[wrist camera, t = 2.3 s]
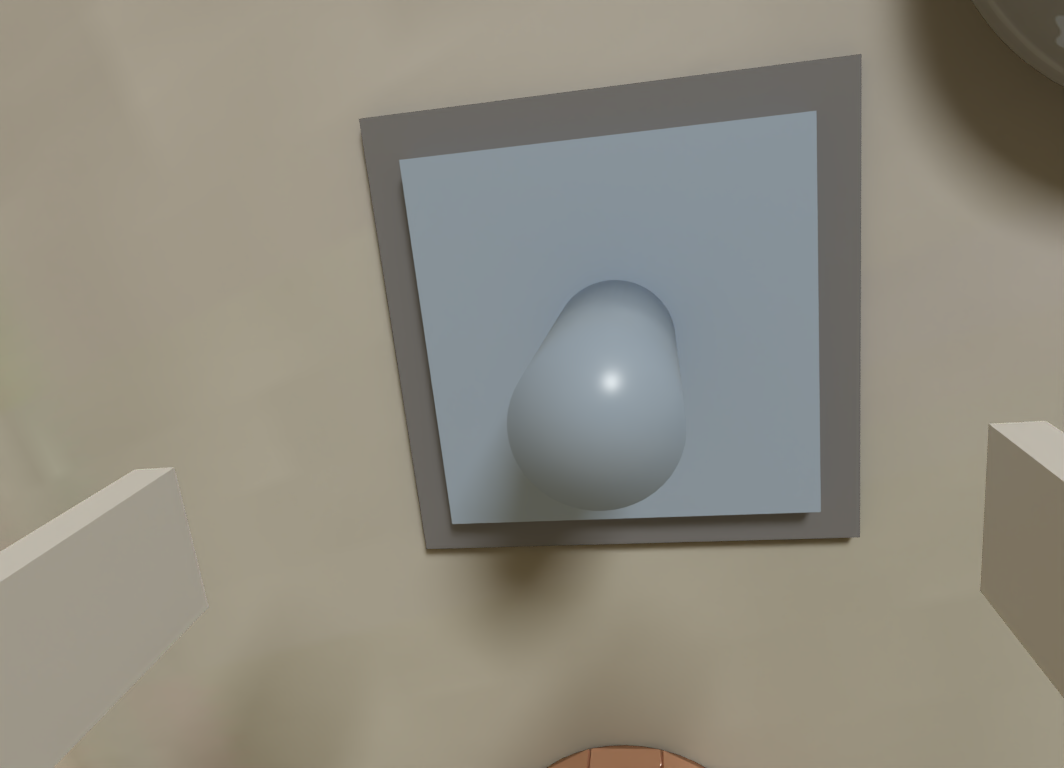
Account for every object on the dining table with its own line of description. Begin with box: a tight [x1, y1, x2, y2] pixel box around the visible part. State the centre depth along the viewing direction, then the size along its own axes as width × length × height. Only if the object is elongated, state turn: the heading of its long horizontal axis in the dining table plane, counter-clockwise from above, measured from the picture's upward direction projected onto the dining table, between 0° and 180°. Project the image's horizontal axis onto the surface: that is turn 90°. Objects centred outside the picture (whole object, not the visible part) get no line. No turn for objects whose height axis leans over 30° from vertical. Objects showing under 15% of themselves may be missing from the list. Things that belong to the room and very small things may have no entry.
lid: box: [399, 111, 821, 524], centre depth 22 cm, size 13×13×10 cm
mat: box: [359, 54, 861, 549], centre depth 27 cm, size 16×16×1 cm
